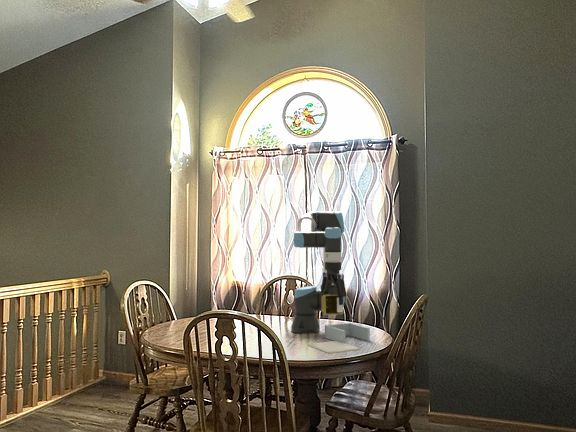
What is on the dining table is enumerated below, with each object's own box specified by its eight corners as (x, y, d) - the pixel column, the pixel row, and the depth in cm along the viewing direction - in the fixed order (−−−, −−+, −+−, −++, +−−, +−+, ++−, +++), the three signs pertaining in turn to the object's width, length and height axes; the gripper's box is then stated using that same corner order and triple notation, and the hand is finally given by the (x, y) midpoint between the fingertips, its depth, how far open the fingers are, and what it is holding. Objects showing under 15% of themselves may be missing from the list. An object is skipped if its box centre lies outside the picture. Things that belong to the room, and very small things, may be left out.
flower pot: (317, 313, 241) (325, 315, 233) (317, 294, 242) (324, 295, 234) (335, 312, 244) (343, 314, 236) (335, 293, 245) (342, 294, 236)
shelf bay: (324, 337, 260) (324, 325, 260) (350, 334, 268) (350, 322, 268) (343, 343, 246) (343, 330, 246) (369, 340, 254) (369, 328, 254)
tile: (307, 345, 243) (307, 344, 243) (336, 341, 250) (336, 340, 250) (329, 353, 227) (329, 352, 227) (359, 349, 235) (359, 348, 235)
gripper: (313, 260, 248) (313, 307, 247) (340, 263, 228) (340, 314, 227) (326, 259, 251) (326, 306, 251) (354, 262, 232) (354, 313, 231)
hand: (333, 310), depth 239 cm, fingers closed on flower pot, 10 cm apart
